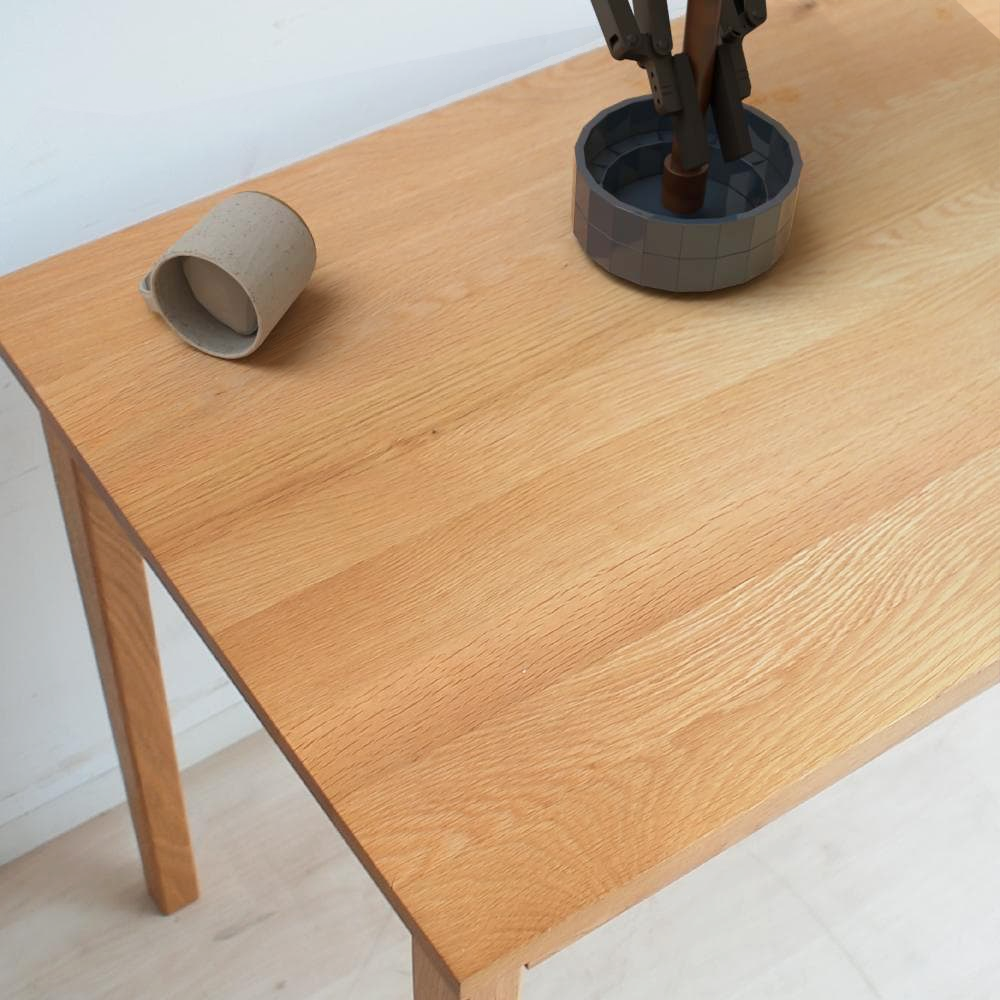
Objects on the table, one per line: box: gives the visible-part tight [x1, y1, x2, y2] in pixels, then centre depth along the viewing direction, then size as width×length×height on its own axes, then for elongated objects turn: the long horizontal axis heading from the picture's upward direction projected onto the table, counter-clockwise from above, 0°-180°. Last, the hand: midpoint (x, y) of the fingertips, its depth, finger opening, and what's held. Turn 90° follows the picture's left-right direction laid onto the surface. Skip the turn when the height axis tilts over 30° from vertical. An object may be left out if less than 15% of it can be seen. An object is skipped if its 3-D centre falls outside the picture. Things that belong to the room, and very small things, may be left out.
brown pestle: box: [661, 0, 722, 215], centre depth 87 cm, size 3×3×16 cm
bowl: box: [570, 93, 804, 293], centre depth 93 cm, size 14×14×6 cm
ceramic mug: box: [138, 190, 318, 360], centre depth 87 cm, size 11×8×8 cm
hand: (718, 161), depth 87 cm, fingers closed on brown pestle, 2 cm apart
